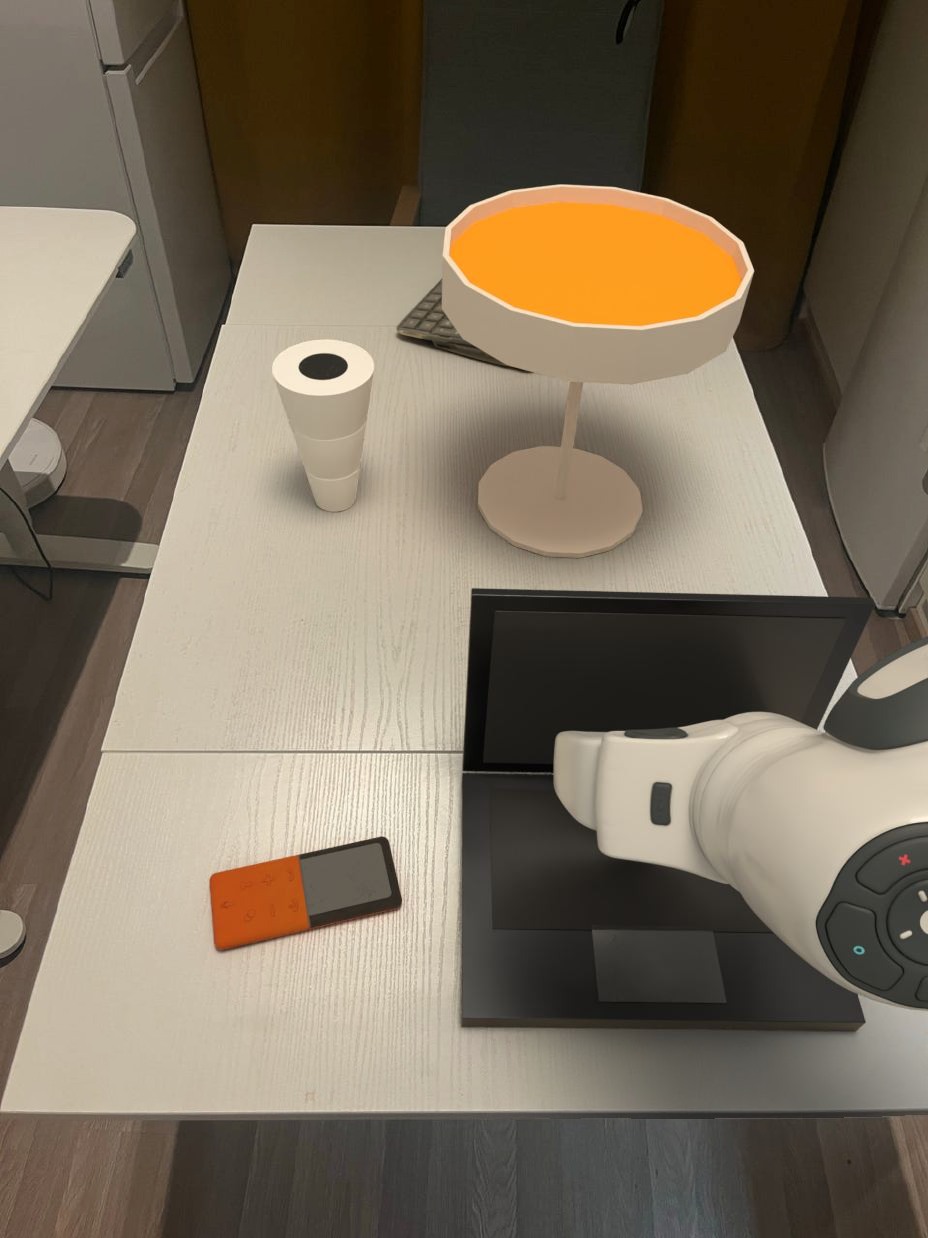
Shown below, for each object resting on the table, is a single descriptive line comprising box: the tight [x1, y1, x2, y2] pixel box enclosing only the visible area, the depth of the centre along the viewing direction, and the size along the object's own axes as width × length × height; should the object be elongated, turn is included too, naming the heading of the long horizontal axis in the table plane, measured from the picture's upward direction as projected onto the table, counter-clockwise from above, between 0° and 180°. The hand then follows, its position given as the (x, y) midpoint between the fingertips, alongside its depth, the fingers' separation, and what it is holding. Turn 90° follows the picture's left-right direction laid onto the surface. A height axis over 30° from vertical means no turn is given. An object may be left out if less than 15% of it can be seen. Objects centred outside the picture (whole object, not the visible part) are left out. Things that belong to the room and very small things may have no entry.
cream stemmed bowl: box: [441, 183, 755, 559], centre depth 96 cm, size 30×30×31 cm
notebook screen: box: [461, 587, 877, 774], centre depth 73 cm, size 21×30×1 cm
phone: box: [208, 836, 403, 951], centre depth 73 cm, size 6×1×15 cm
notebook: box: [460, 772, 866, 1032], centre depth 74 cm, size 21×30×2 cm
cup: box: [271, 339, 375, 513], centre depth 100 cm, size 11×11×18 cm
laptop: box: [395, 278, 517, 369], centre depth 134 cm, size 26×32×10 cm
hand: (691, 746), depth 60 cm, fingers closed
